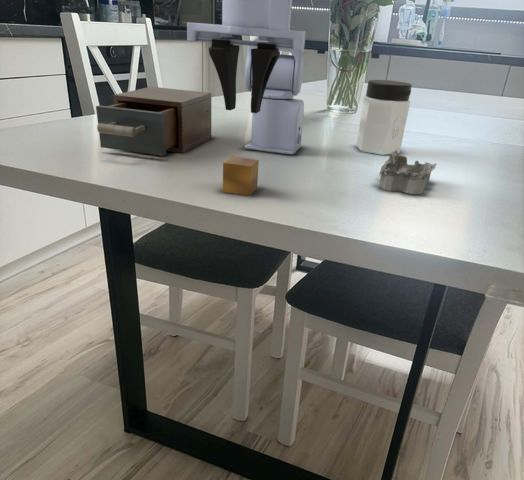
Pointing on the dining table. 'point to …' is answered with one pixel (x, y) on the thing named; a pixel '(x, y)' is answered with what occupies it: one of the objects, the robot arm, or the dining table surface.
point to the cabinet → (189, 112)
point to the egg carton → (404, 175)
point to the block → (240, 175)
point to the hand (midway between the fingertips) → (242, 110)
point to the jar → (383, 116)
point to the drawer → (138, 127)
